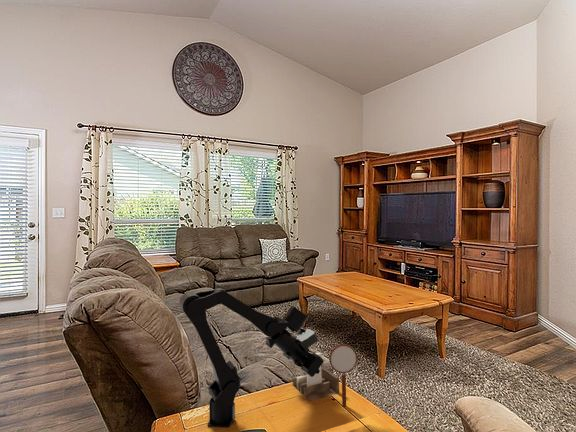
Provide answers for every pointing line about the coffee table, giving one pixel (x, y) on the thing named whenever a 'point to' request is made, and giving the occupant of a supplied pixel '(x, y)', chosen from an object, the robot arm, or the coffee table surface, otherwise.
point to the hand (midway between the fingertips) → (317, 371)
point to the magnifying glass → (343, 364)
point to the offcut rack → (318, 385)
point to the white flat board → (314, 377)
